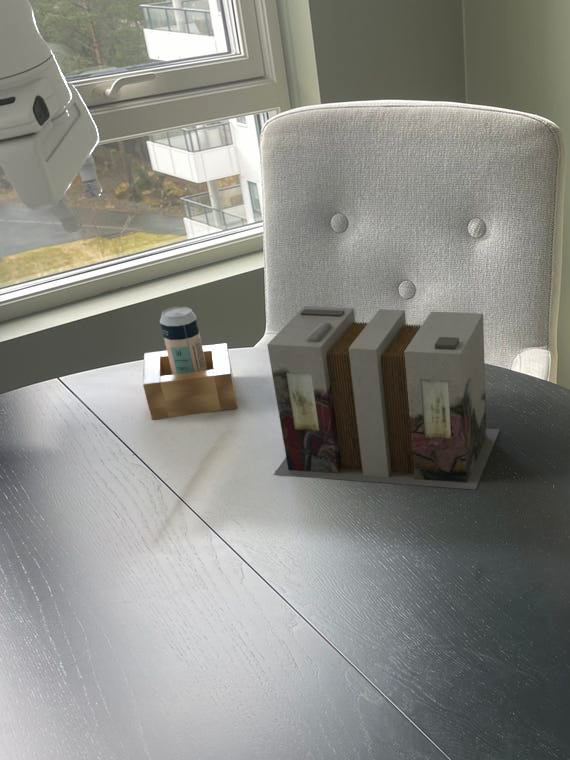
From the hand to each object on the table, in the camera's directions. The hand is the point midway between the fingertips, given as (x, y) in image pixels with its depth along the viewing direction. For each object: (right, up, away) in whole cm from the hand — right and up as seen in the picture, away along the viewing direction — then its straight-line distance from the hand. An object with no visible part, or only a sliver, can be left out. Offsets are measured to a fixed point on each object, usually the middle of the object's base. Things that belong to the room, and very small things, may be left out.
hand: (85, 211), depth 120 cm
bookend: (+38, -30, +1) cm, 48 cm away
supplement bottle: (+9, -19, +15) cm, 26 cm away
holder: (+9, -19, +15) cm, 26 cm away
